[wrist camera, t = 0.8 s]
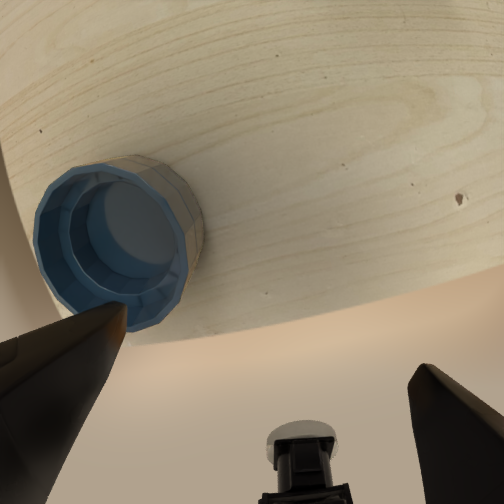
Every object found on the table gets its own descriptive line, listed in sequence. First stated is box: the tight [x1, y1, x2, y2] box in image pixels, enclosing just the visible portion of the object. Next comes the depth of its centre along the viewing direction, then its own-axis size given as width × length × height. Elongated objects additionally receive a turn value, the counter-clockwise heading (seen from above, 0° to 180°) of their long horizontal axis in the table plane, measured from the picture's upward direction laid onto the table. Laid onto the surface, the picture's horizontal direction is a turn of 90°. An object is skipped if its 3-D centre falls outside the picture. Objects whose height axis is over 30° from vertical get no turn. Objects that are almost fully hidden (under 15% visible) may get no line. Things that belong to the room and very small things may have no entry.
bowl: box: [33, 155, 204, 332], centre depth 18 cm, size 9×9×5 cm
